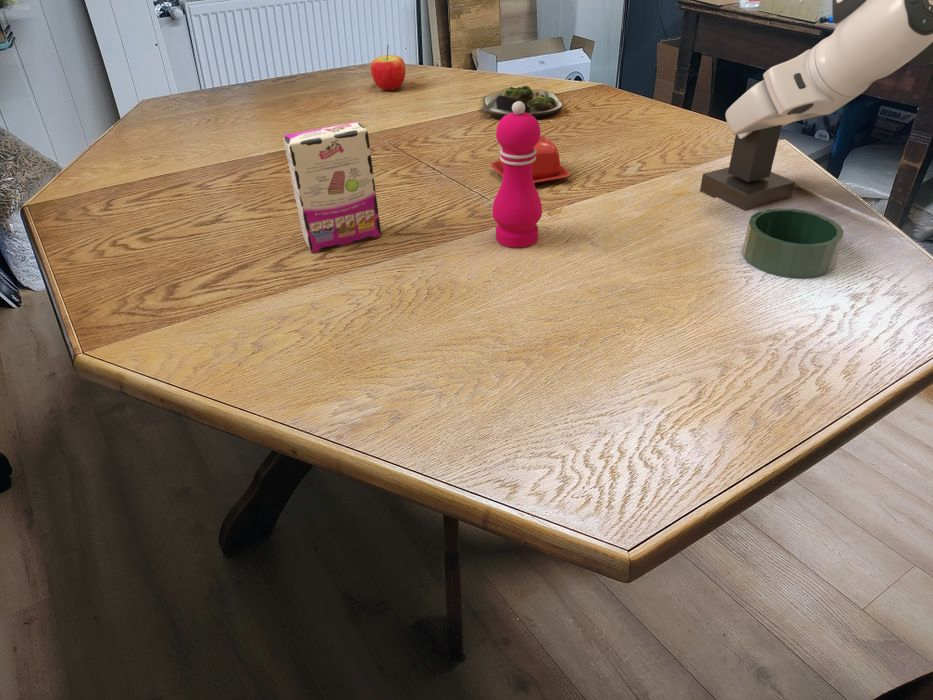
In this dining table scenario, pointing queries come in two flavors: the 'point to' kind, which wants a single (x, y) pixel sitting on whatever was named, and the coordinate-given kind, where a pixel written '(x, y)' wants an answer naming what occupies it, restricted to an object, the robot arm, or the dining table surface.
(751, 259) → the tin
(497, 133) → the pepper mill
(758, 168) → the dark brown block
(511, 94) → the salad plate
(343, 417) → the dining table surface
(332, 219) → the candy bar box
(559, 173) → the butter dish
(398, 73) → the apple
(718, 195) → the stand
